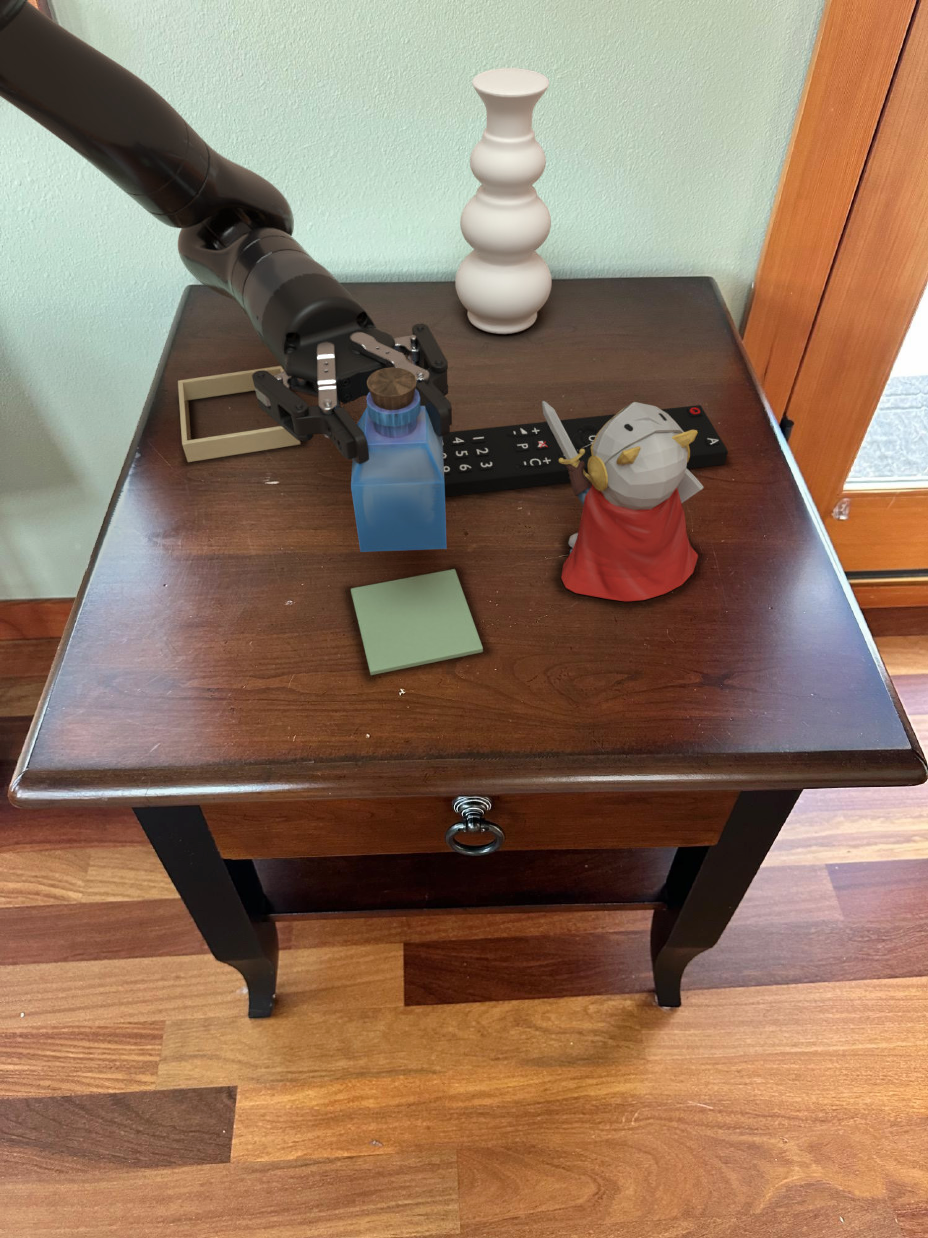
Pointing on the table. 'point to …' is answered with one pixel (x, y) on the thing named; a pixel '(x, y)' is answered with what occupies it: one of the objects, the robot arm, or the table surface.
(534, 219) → the vase
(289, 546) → the table surface
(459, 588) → the mat
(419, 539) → the perfume bottle
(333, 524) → the table surface
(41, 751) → the table surface
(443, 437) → the remote control
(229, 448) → the holder
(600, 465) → the figurine
